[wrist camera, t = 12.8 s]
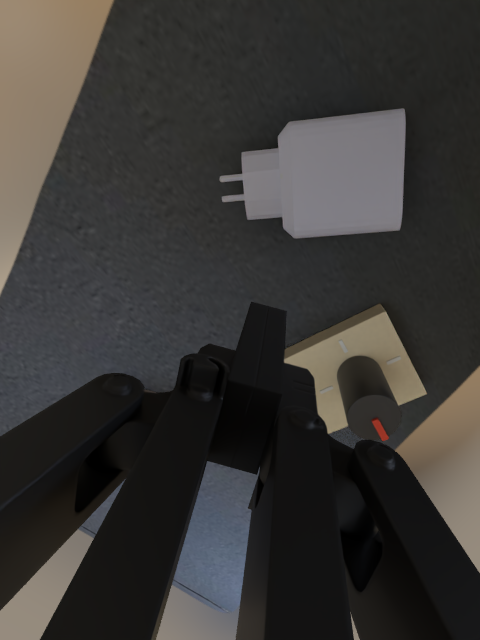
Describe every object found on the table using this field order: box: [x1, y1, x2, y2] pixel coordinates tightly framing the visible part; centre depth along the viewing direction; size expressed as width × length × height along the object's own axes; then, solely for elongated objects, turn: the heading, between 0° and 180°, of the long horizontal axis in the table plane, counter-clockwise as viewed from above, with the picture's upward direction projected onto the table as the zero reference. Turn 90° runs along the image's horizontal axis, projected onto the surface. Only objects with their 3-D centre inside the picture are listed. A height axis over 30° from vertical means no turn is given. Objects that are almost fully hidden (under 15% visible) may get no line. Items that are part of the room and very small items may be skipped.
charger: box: [220, 108, 406, 239], centre depth 35 cm, size 5×9×15 cm
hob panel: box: [284, 304, 427, 434], centre depth 42 cm, size 11×10×3 cm
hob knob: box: [337, 356, 402, 441], centre depth 37 cm, size 4×4×8 cm
